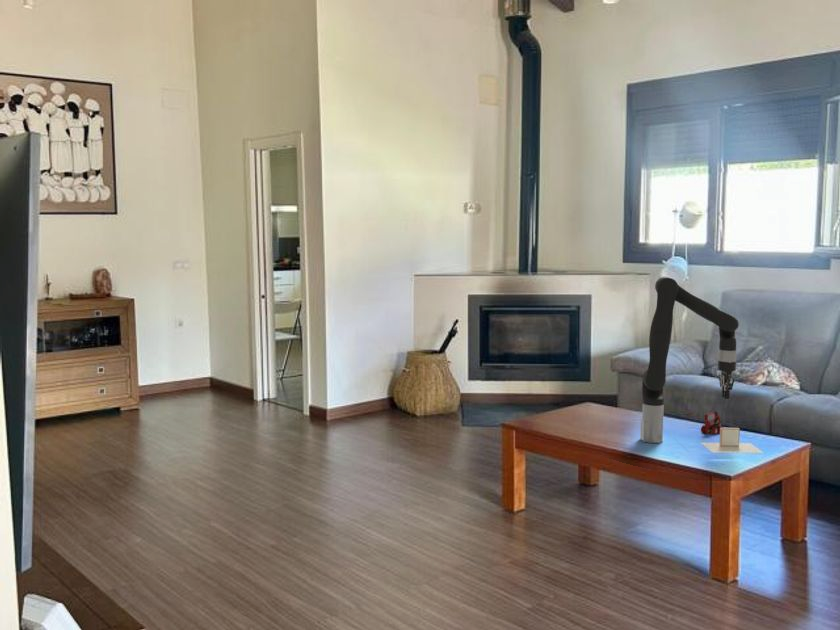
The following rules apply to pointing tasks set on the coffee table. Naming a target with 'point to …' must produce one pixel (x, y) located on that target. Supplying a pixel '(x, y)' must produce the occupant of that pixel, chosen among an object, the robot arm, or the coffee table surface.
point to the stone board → (732, 448)
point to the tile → (729, 436)
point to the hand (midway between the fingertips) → (725, 397)
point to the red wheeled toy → (712, 424)
